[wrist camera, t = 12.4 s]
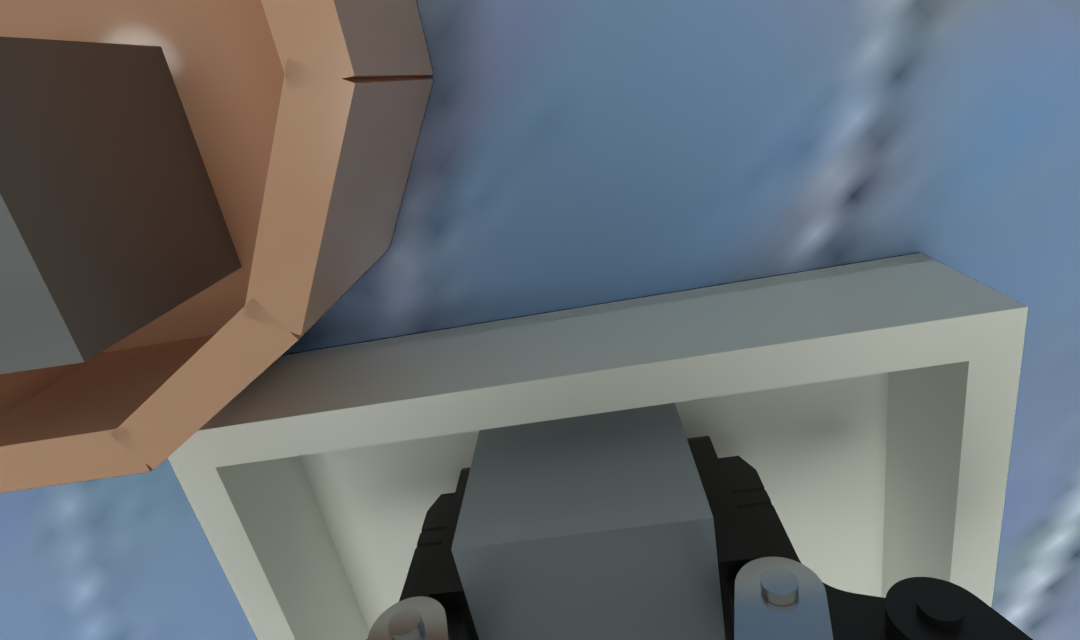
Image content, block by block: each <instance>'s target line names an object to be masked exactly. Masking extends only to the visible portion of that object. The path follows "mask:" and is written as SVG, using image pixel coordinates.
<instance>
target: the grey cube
mask: <svg viewBox="0 0 1080 640" xmlns="http://www.w3.org/2000/svg"><path fill="white" fill-rule="evenodd" d="M451 551H452V554H453V557H454V560H455V564H456V567H457V570H458V573H459V577H460V580H461V583H462V586H463V589H464V593H465V596H466V599H467V602H468V606H469V609H470V612H471V615H472V619H473V622H474V625H475V628H476V631H477V635H478V638H479V640H725V630H724V620H723V610H722V600H721V590H720V580H719V570H718V560H717V549H716V539H715V529H714V519H713V515H712V512H711V509H710V506H709V503H708V500H707V497H706V494H705V491H704V488H703V485H702V482H701V479H700V476H699V473H698V470H697V467H696V464H695V461H694V458H693V455H692V453H691V450H690V447H689V444H688V441H687V438H686V435H685V432H684V429H683V426H682V423H681V420H680V417H679V414H678V411H677V408H676V405H675V403H668V404H661V405H654V406H647V407H640V408H633V409H626V410H619V411H612V412H604V413H597V414H590V415H583V416H576V417H569V418H562V419H555V420H548V421H541V422H534V423H527V424H520V425H513V426H506V427H499V428H492V429H484V430H479V434H478V438H477V442H476V447H475V451H474V455H473V459H472V464H471V468H470V472H469V476H468V480H467V485H466V489H465V493H464V497H463V502H462V506H461V510H460V514H459V518H458V523H457V527H456V531H455V535H454V540H453V544H452V548H451Z"/></svg>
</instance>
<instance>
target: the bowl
mask: <svg viewBox="0 0 1080 640" xmlns="http://www.w3.org/2000/svg"><path fill="white" fill-rule="evenodd" d="M0 36H2V37H18V38H34V39H50V40H65V41H81V42H97V43H113V44H129V45H145V46H160V47H162V50H163V53H164V56H165V58H166V61H167V64H168V66H169V69H170V72H171V75H172V77H173V80H174V83H175V86H176V88H177V91H178V94H179V97H180V99H181V102H182V105H183V107H184V110H185V113H186V116H187V118H188V121H189V124H190V127H191V129H192V132H193V135H194V138H195V140H196V143H197V146H198V148H199V151H200V154H201V157H202V159H203V162H204V165H205V168H206V170H207V173H208V176H209V178H210V181H211V184H212V187H213V189H214V192H215V195H216V198H217V200H218V203H219V206H220V209H221V211H222V214H223V217H224V219H225V222H226V225H227V228H228V230H229V233H230V236H231V239H232V241H233V244H234V247H235V250H236V252H237V255H238V258H239V260H240V263H241V266H242V267H241V268H240V269H238V270H236V271H235V272H233V273H231V274H230V275H228V276H226V277H225V278H223V279H221V280H220V281H218V282H216V283H215V284H213V285H211V286H210V287H208V288H207V289H205V290H203V291H202V292H200V293H198V294H197V295H195V296H193V297H192V298H190V299H188V300H187V301H185V302H183V303H182V304H180V305H178V306H177V307H175V308H173V309H172V310H170V311H168V312H167V313H165V314H163V315H162V316H160V317H158V318H157V319H155V320H153V321H152V322H150V323H149V324H147V325H145V326H144V327H142V328H140V329H139V330H137V331H135V332H134V333H132V334H130V335H129V336H127V337H125V338H124V339H122V340H120V341H119V342H117V343H115V344H114V345H112V346H110V347H109V348H107V349H105V350H104V351H102V352H100V353H99V354H97V355H96V356H94V357H92V358H91V359H89V360H87V361H86V362H82V363H75V364H68V365H61V366H54V367H47V368H40V369H33V370H26V371H19V372H12V373H5V374H0V493H4V492H11V491H18V490H25V489H32V488H39V487H46V486H53V485H60V484H67V483H74V482H81V481H88V480H95V479H102V478H109V477H116V476H123V475H130V474H137V473H144V472H150V471H151V470H152V469H155V468H157V467H158V466H159V465H160V464H161V463H162V462H163V461H164V460H166V459H167V458H168V457H169V456H170V455H171V454H172V453H173V452H174V451H176V450H177V449H178V448H179V447H180V446H181V445H182V444H183V443H184V442H186V441H187V440H188V439H189V438H190V437H191V436H192V435H193V434H194V433H196V432H197V431H198V430H199V429H200V428H201V427H202V426H203V425H204V424H206V423H207V422H208V421H209V420H210V419H211V418H212V417H213V416H214V415H216V414H217V413H218V412H219V411H220V410H221V409H222V408H223V407H224V406H226V405H227V404H228V403H229V402H230V401H231V400H232V399H233V398H235V397H236V396H237V395H238V394H239V393H240V392H241V391H242V390H243V389H245V388H246V387H247V386H248V385H249V384H250V383H251V382H252V381H253V380H255V379H256V378H257V377H258V376H259V375H260V374H261V373H262V372H263V371H265V370H266V369H267V368H268V367H269V366H270V365H271V364H272V363H273V362H275V361H276V360H277V359H278V358H279V357H280V356H281V355H282V354H283V353H285V352H286V351H287V350H288V349H289V348H290V347H291V346H292V345H293V344H295V343H296V342H297V341H298V340H299V339H300V338H301V337H302V336H303V335H304V334H305V333H306V332H307V331H308V330H309V329H310V328H311V327H312V326H313V325H314V324H315V323H316V322H317V321H318V320H319V319H320V318H321V317H322V316H323V315H324V314H325V313H326V312H327V311H328V310H329V309H330V308H331V307H332V306H333V305H334V304H335V303H336V302H337V301H338V300H339V299H340V298H341V297H342V296H343V295H344V294H345V293H346V292H347V291H348V290H349V289H350V288H351V287H352V286H353V285H354V284H355V283H356V282H357V281H358V280H359V279H360V278H361V277H362V276H363V275H364V274H365V273H366V272H367V271H368V270H369V269H370V268H371V267H372V266H373V265H374V264H375V263H376V262H377V261H378V260H379V259H380V258H381V257H382V256H383V255H384V254H385V253H386V252H387V251H388V250H387V249H388V248H389V247H390V244H391V240H392V236H393V232H394V228H395V225H396V221H397V217H398V213H399V209H400V205H401V202H402V198H403V194H404V190H405V186H406V182H407V179H408V175H409V171H410V167H411V163H412V160H413V156H414V152H415V148H416V144H417V140H418V137H419V133H420V129H421V125H422V121H423V117H424V114H425V110H426V106H427V102H428V98H429V95H430V91H431V87H432V83H433V79H431V78H429V77H426V76H429V75H433V70H432V66H431V62H430V58H429V53H428V49H427V45H426V41H425V36H424V32H423V28H422V24H421V19H420V15H419V11H418V7H417V2H416V0H0Z"/></svg>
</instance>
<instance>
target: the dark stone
mask: <svg viewBox="0 0 1080 640" xmlns="http://www.w3.org/2000/svg"><path fill="white" fill-rule="evenodd" d="M241 267H242V266H241V263H240V260H239V258H238V255H237V252H236V250H235V247H234V244H233V241H232V239H231V236H230V233H229V230H228V228H227V225H226V222H225V219H224V217H223V214H222V211H221V209H220V206H219V203H218V200H217V198H216V195H215V192H214V189H213V187H212V184H211V181H210V178H209V176H208V173H207V170H206V168H205V165H204V162H203V159H202V157H201V154H200V151H199V148H198V146H197V143H196V140H195V138H194V135H193V132H192V129H191V127H190V124H189V121H188V118H187V116H186V113H185V110H184V107H183V105H182V102H181V99H180V97H179V94H178V91H177V88H176V86H175V83H174V80H173V77H172V75H171V72H170V69H169V66H168V64H167V61H166V58H165V56H164V53H163V50H162V47H160V46H145V45H129V44H113V43H97V42H81V41H65V40H50V39H34V38H18V37H2V36H0V374H5V373H12V372H19V371H26V370H33V369H40V368H47V367H54V366H61V365H68V364H75V363H82V362H86V361H87V360H89V359H91V358H92V357H94V356H96V355H97V354H99V353H100V352H102V351H104V350H105V349H107V348H109V347H110V346H112V345H114V344H115V343H117V342H119V341H120V340H122V339H124V338H125V337H127V336H129V335H130V334H132V333H134V332H135V331H137V330H139V329H140V328H142V327H144V326H145V325H147V324H149V323H150V322H152V321H153V320H155V319H157V318H158V317H160V316H162V315H163V314H165V313H167V312H168V311H170V310H172V309H173V308H175V307H177V306H178V305H180V304H182V303H183V302H185V301H187V300H188V299H190V298H192V297H193V296H195V295H197V294H198V293H200V292H202V291H203V290H205V289H207V288H208V287H210V286H211V285H213V284H215V283H216V282H218V281H220V280H221V279H223V278H225V277H226V276H228V275H230V274H231V273H233V272H235V271H236V270H238V269H240V268H241Z"/></svg>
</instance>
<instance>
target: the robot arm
mask: <svg viewBox="0 0 1080 640" xmlns="http://www.w3.org/2000/svg"><path fill="white" fill-rule="evenodd" d="M687 441H688V444H689V447H690V450H691V453H692V455H693V458H694V461H695V464H696V467H697V470H698V473H699V476H700V479H701V482H702V485H703V488H704V491H705V494H706V497H707V500H708V503H709V506H710V509H711V512H712V515H713V519H714V529H715V539H716V549H717V560H718V570H719V580H720V590H721V600H722V610H723V620H724V630H725V640H1033V639H1031V638H1030V637H1029V636H1027V635H1026V634H1025V633H1023V632H1022V631H1021V630H1020V629H1018V628H1017V627H1016V626H1014V625H1013V624H1012V623H1010V622H1009V621H1008V620H1007V619H1005V618H1004V617H1003V616H1001V615H1000V614H999V613H998V612H996V611H995V610H994V609H992V608H991V607H990V606H988V605H987V604H986V603H985V602H983V601H982V600H981V599H979V598H978V597H977V596H975V595H974V594H972V593H971V592H969V591H968V590H966V589H964V588H962V587H961V586H958V585H956V584H954V583H951V582H948V581H945V580H942V579H937V578H931V577H912V578H906V579H903V580H900V581H899V582H897V583H895V584H894V585H893V586H892V587H891V588H890V589H889V591H888V592H887V595H886V598H883V597H876V596H869V595H863V594H856V593H851V592H846V591H843V590H839V589H836V588H834V587H831V586H829V585H827V584H825V583H823V582H822V581H821V579H820V578H819V577H818V576H817V575H816V574H815V573H814V572H813V571H812V570H811V569H810V568H808V567H807V566H805V565H803V564H802V563H801V561H800V560H799V558H798V556H797V554H796V552H795V550H794V548H793V545H792V543H791V541H790V539H789V537H788V535H787V533H786V531H785V529H784V527H783V525H782V523H781V521H780V518H779V516H778V514H777V512H776V510H775V508H774V506H773V505H772V503H771V500H770V498H769V496H768V494H767V491H766V490H765V488H764V485H763V483H762V481H761V479H760V477H759V475H758V473H757V471H756V469H755V468H753V467H752V466H751V465H750V464H748V463H747V462H746V461H745V460H743V459H742V458H741V457H740V456H732V457H724V458H718V457H717V454H716V452H715V449H714V447H713V444H712V442H711V439H710V437H709V436H700V437H693V438H687ZM470 468H471V467H468V468H463V469H462V470H461V472H460V476H459V480H458V483H457V487H456V491H455V492H454V493H446V494H441V495H440V496H439V497H438V499H437V500H436V501H435V502H434V503H433V505H432V506H431V507H430V508H429V510H428V511H427V513H426V516H425V520H424V523H423V526H422V529H421V530H422V533H420V536H419V539H418V542H417V548H415V552H414V555H413V558H412V561H411V564H410V568H409V571H408V574H407V577H406V580H405V584H404V587H403V590H402V593H401V596H400V600H399V602H397V603H396V604H394V605H392V606H391V607H389V608H388V609H387V610H385V611H384V612H383V613H382V614H381V615H380V616H379V617H378V618H377V620H376V621H375V622H374V624H373V626H372V627H371V629H370V632H369V635H368V639H366V640H479V638H478V635H477V631H476V628H475V625H474V622H473V619H472V615H471V612H470V609H469V606H468V602H467V599H466V596H465V593H464V589H463V586H462V583H461V580H460V577H459V573H458V570H457V567H456V564H455V560H454V557H453V554H452V551H451V548H452V544H453V540H454V535H455V531H456V527H457V523H458V518H459V514H460V510H461V506H462V502H463V497H464V493H465V489H466V485H467V480H468V476H469V472H470Z"/></svg>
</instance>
